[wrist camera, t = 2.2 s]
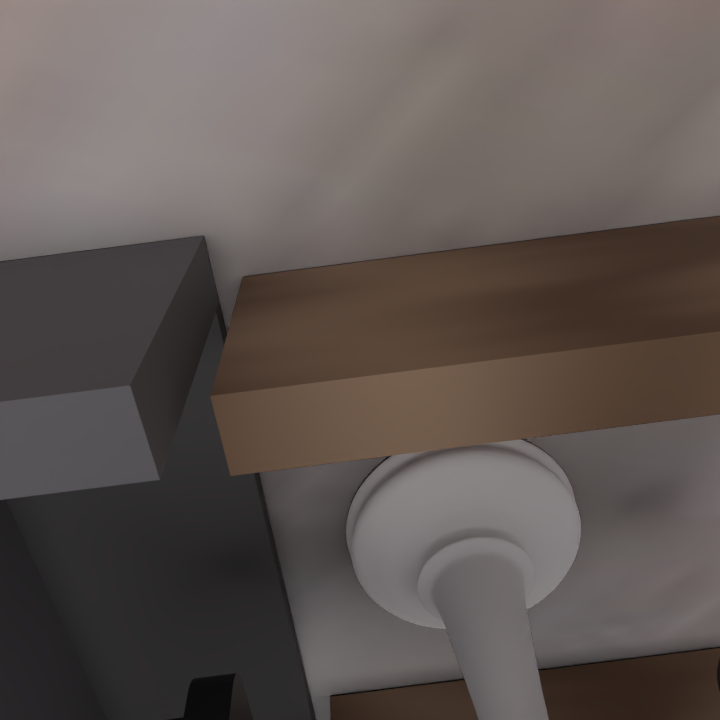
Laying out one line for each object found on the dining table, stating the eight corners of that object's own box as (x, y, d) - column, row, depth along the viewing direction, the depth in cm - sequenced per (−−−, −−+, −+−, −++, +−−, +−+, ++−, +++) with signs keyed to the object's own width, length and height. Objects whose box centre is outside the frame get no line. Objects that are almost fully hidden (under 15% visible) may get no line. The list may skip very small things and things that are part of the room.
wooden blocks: (880, 195, 12) (1127, 279, 8) (761, 673, 17) (874, 844, 14) (242, 276, 12) (210, 396, 8) (336, 726, 17) (340, 910, 14)
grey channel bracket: (203, 236, 11) (130, 385, 7) (321, 747, 18) (322, 993, 13) (-154, 281, 11) (-457, 459, 7) (95, 776, 18) (22, 1030, 13)
